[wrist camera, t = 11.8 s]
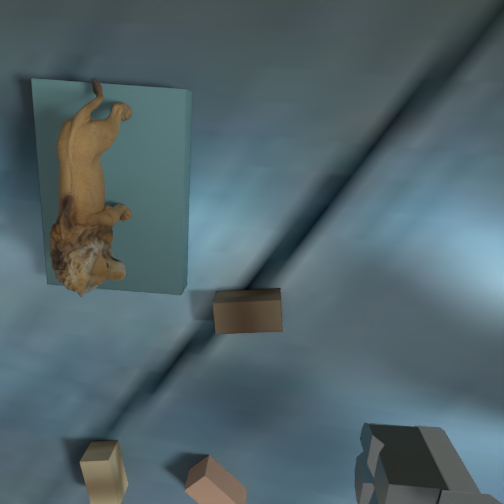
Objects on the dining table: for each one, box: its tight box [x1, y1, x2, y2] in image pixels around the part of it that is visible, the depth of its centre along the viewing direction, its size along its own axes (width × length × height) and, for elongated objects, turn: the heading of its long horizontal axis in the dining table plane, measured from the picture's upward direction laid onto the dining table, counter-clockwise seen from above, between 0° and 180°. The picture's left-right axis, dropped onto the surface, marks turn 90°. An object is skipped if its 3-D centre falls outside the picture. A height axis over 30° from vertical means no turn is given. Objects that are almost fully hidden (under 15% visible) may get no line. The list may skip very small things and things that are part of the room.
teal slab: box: [31, 78, 192, 295], centre depth 35 cm, size 12×17×2 cm
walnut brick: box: [213, 288, 283, 334], centre depth 38 cm, size 6×3×3 cm, turn 94°
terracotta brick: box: [184, 455, 247, 504], centre depth 44 cm, size 6×3×3 cm, turn 42°
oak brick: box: [80, 440, 128, 504], centre depth 44 cm, size 6×3×3 cm, turn 6°
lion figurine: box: [49, 78, 132, 297], centre depth 30 cm, size 15×5×9 cm, turn 3°
